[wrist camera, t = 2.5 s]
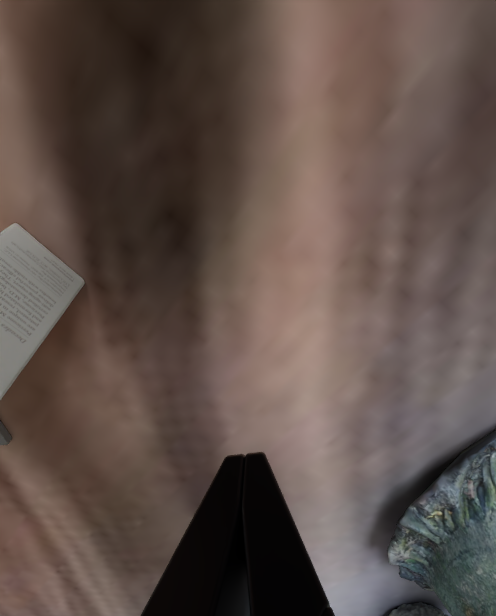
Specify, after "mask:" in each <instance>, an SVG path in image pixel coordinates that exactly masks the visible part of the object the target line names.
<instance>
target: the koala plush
mask: <svg viewBox="0 0 496 616" xmlns="http://www.w3.org/2000/svg"><path fill="white" fill-rule="evenodd" d="M389 616H448V615H444V613H443V611H442V610H440V609H437V608H436V607H432V605H427V604H423V603H422V602H420V603H414V604H409V605H406V604H402V606H400V607H398V608H397V609H394V610H393V611H392V612H391V614H390V615H389Z"/></svg>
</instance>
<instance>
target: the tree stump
mask: <svg viewBox="0 0 496 616" xmlns="http://www.w3.org/2000/svg"><path fill="white" fill-rule="evenodd" d="M396 525H397V527H396V529H395V533H394V534H395V535H394V536H393V538H392V540H391V542H390V545H389V547H388V550H387V552H388V558H389V563H390V564H392V565H398V566H399V567H400V568H399V569H400V573H399V575H400V577H401V578H405V579H407V580H410V581H413V580H414V581H415V582H416V583H417V584H418V585H419V586H420V587H422V588H423V589H425V590H429V591H434V592H435V593H436V594H437V596H438V597H439V599H440V600H441V602H442V603H443V605H444V606H445V608H446V609H447V610H448V612H449V613H450V614H451V615H452V616H496V430H494V431H493V432H491V433H490V434H488V435H487V436H485V437H483V438H482V439H480V440H479V441H477V442H476V443H474V444H473V445H471V446H470V447H468V448H467V449H465V450H464V451H462V452H461V454H460V455H459V456H458V457H457V458H456V459H455V460H454V461H453V462H452V463H451V464H450V465H449V466H448V467H447V469H446V470H445V471H444V472H443V473H442V474H441V475H440V476H439V477H438V478H437V479H436V480H435V481H434V482H433V483H432V484H431V485H430V486H429V487H428V488H427V489H426V490H425V491H424V492H423V493H422V494H421V495H420V496H419V497H418V498H417V499H416V500H415V501H414V502H413V503H412V504H411V505H410V506H409V507H408V508H407V510H406V511H405V513H404V514H403V516H402V517H401V518H400V519H399V520H398V522H397V524H396Z"/></svg>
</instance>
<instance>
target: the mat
mask: <svg viewBox="0 0 496 616" xmlns="http://www.w3.org/2000/svg"><path fill="white" fill-rule="evenodd" d="M11 439H12V437H11V435H10V434H9V433H8V431H7V430H6V428H5V427H4V425H3V424H2V422H1V421H0V445H7V444H9V442H10V441H11Z"/></svg>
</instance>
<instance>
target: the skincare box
mask: <svg viewBox="0 0 496 616" xmlns="http://www.w3.org/2000/svg"><path fill="white" fill-rule="evenodd" d="M84 284H85V282H84V280H83V278H82V277H80V276H79V275H78V274H77V273H75V272H74V271H73V270H72V269H71V268H69V267H68V266H67V265H66V264H65V263H63V262H62V261H61V260H60V259H59V258H57V257H56V256H55V255H54V254H53V253H52V252H50V251H49V250H48V249H47V248H45V247H44V246H43V245H42V244H41V243H40V242H38V241H37V240H36V239H35V238H34V237H33V236H32V235H30V234H29V233H28V232H27V231H26V230H24V229H23V228H22V227H21V226H20V225H18V224H17V223H13V224H12V225H10V226H9V227H7V228H6V229H5V230H3V231H2V232H0V400H1V399H2V397H3V396H4V395H5V393H6V392H7V391H8V389H9V388H10V386H11V385H12V384H13V382H14V381H15V380H16V378H17V377H18V376H19V374H20V373H21V371H22V370H23V369H24V367H25V366H26V365H27V363H28V362H29V360H30V359H31V358H32V356H33V355H34V353H35V352H36V351H37V349H38V348H39V346H40V345H41V344H42V342H43V341H44V340H45V338H46V337H47V335H48V334H49V333H50V331H51V330H52V329H53V327H54V326H55V325H56V323H57V322H58V320H59V319H60V318H61V316H62V315H63V313H64V312H65V311H66V309H67V308H68V306H69V305H70V304H71V302H72V301H73V299H74V298H75V297H76V295H77V294H78V292H79V291H80V290H81V288H82V287H83V286H84Z"/></svg>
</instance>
